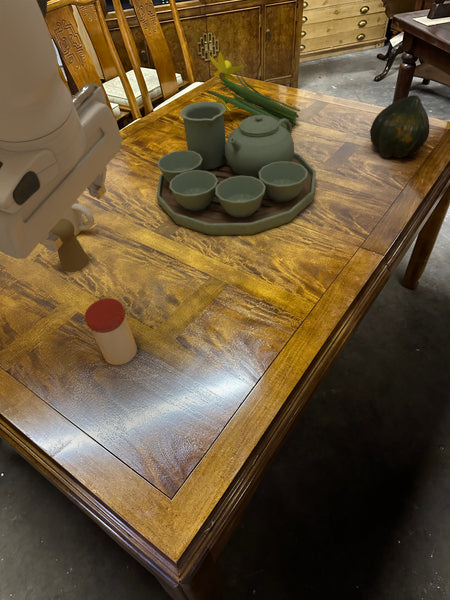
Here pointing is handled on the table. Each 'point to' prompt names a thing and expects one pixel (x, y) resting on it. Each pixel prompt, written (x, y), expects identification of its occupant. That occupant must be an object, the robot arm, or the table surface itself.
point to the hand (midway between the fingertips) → (77, 219)
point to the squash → (400, 128)
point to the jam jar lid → (105, 315)
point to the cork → (69, 247)
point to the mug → (79, 217)
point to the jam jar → (117, 344)
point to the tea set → (234, 174)
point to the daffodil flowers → (248, 95)
